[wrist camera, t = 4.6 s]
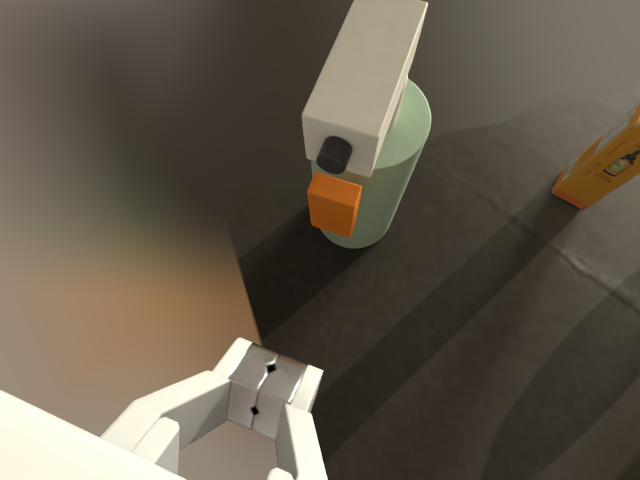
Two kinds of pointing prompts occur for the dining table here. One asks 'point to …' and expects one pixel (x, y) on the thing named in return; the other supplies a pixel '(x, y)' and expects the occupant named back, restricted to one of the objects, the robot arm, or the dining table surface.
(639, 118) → the supplement box
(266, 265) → the dining table surface
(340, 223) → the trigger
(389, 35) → the spray bottle
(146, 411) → the robot arm
